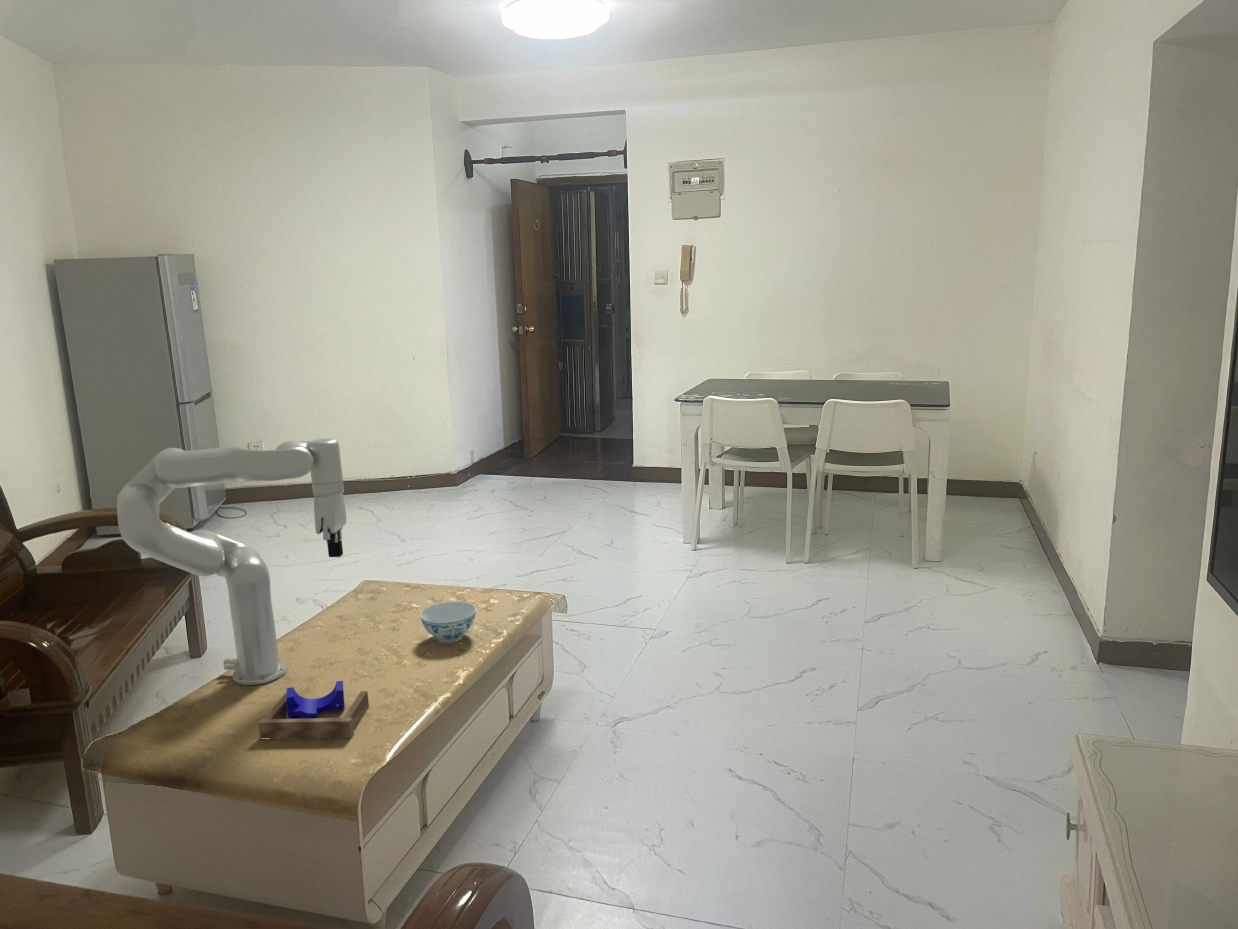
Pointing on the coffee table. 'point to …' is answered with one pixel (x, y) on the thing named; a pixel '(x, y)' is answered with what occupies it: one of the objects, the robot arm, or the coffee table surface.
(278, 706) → the dock bay
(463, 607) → the chinaware
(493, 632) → the coffee table surface
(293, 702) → the cable clip
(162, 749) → the coffee table surface
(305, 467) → the robot arm
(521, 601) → the coffee table surface
